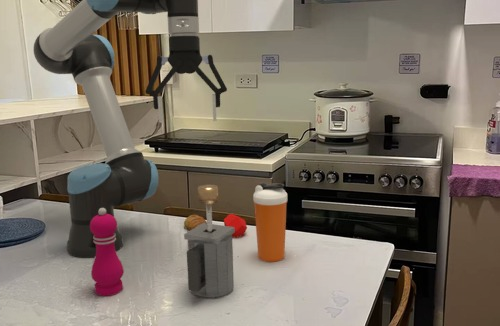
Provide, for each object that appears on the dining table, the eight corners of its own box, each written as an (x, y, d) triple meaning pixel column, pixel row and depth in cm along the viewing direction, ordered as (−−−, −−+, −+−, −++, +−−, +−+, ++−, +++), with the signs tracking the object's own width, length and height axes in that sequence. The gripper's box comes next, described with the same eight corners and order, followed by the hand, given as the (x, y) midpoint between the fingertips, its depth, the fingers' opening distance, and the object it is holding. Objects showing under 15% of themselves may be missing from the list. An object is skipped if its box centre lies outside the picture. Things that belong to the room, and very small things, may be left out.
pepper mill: (108, 299, 118) (101, 214, 114) (86, 292, 122) (78, 209, 118) (131, 287, 124) (125, 205, 120) (109, 280, 128) (103, 201, 124)
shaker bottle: (285, 264, 135) (284, 189, 131) (251, 262, 137) (249, 188, 133) (290, 251, 144) (289, 180, 140) (258, 249, 145) (256, 179, 141)
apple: (252, 219, 155) (237, 204, 160) (233, 228, 151) (218, 212, 157) (251, 236, 159) (236, 221, 164) (233, 245, 155) (218, 229, 161)
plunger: (189, 274, 120) (185, 189, 116) (205, 263, 126) (202, 182, 122) (217, 279, 117) (214, 192, 112) (232, 267, 123) (229, 184, 119)
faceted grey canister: (174, 299, 117) (171, 239, 114) (204, 276, 129) (202, 221, 126) (213, 307, 113) (211, 245, 110) (241, 283, 124) (239, 226, 122)
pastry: (213, 232, 161) (212, 220, 160) (192, 236, 158) (191, 224, 157) (201, 223, 169) (201, 212, 168) (181, 227, 166) (181, 216, 166)
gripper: (130, 36, 125) (136, 124, 129) (235, 33, 126) (237, 121, 131) (134, 36, 132) (140, 120, 137) (233, 34, 134) (236, 117, 138)
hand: (188, 121), depth 134 cm, fingers open, 13 cm apart
